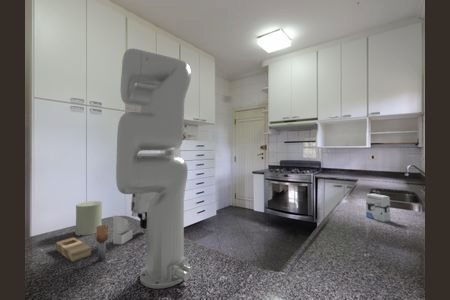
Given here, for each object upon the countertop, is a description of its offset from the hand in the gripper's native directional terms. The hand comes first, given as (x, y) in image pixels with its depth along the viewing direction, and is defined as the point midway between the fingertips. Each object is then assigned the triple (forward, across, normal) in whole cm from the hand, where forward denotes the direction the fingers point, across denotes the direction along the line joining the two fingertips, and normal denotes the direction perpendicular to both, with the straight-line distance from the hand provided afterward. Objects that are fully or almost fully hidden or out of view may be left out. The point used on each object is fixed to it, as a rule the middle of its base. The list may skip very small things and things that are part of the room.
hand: (144, 227), depth 82 cm
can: (+2, -12, +21) cm, 24 cm away
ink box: (+1, +75, -81) cm, 111 cm away
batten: (+2, -23, +5) cm, 24 cm away
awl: (+2, -20, -8) cm, 22 cm away
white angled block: (+2, -9, 0) cm, 9 cm away
